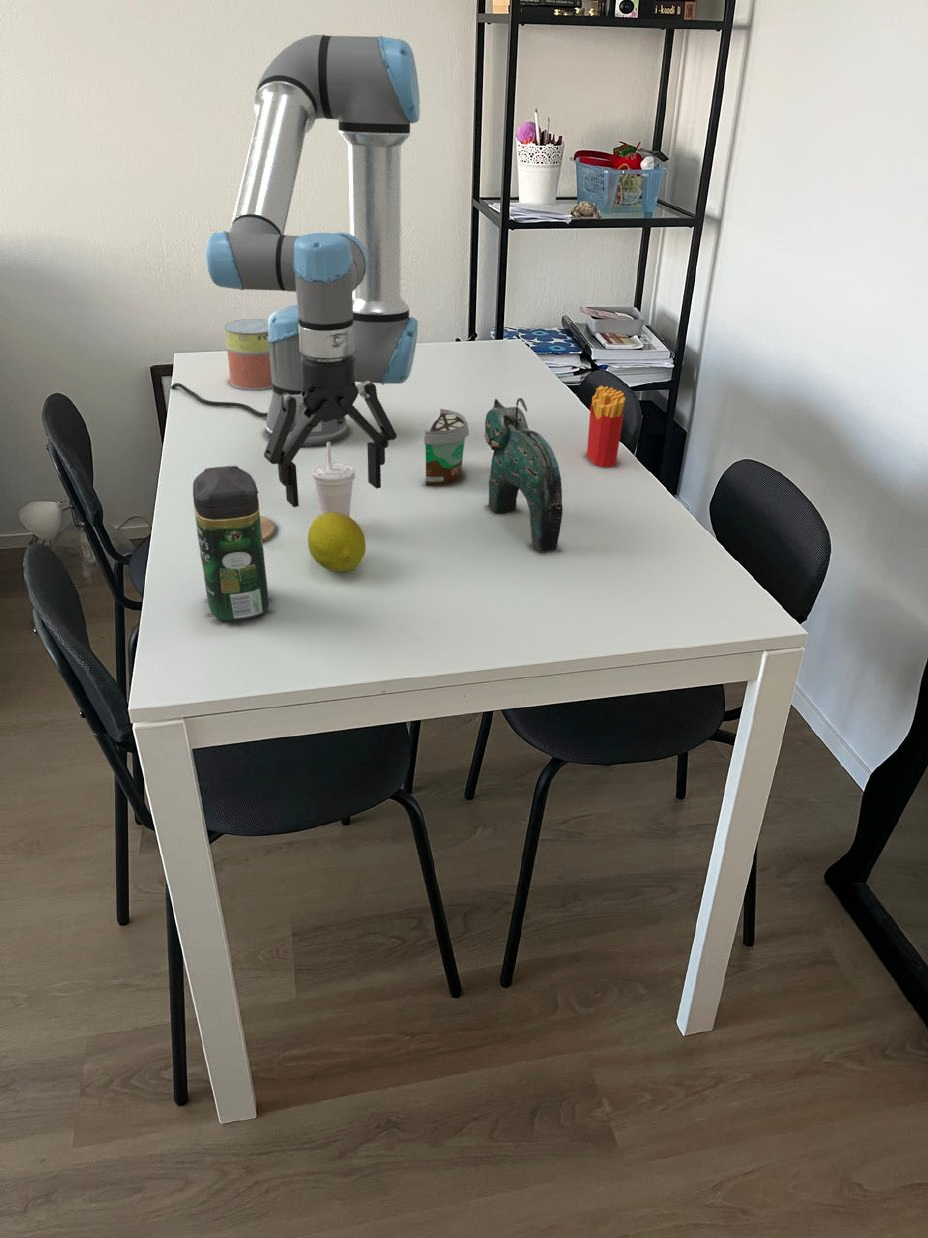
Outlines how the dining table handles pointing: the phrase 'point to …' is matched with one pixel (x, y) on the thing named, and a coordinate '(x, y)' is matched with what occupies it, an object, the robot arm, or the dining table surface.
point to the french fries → (605, 426)
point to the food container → (445, 448)
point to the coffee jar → (231, 543)
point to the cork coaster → (266, 528)
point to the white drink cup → (333, 485)
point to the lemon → (336, 542)
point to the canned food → (249, 354)
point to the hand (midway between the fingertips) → (334, 494)
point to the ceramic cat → (524, 473)
